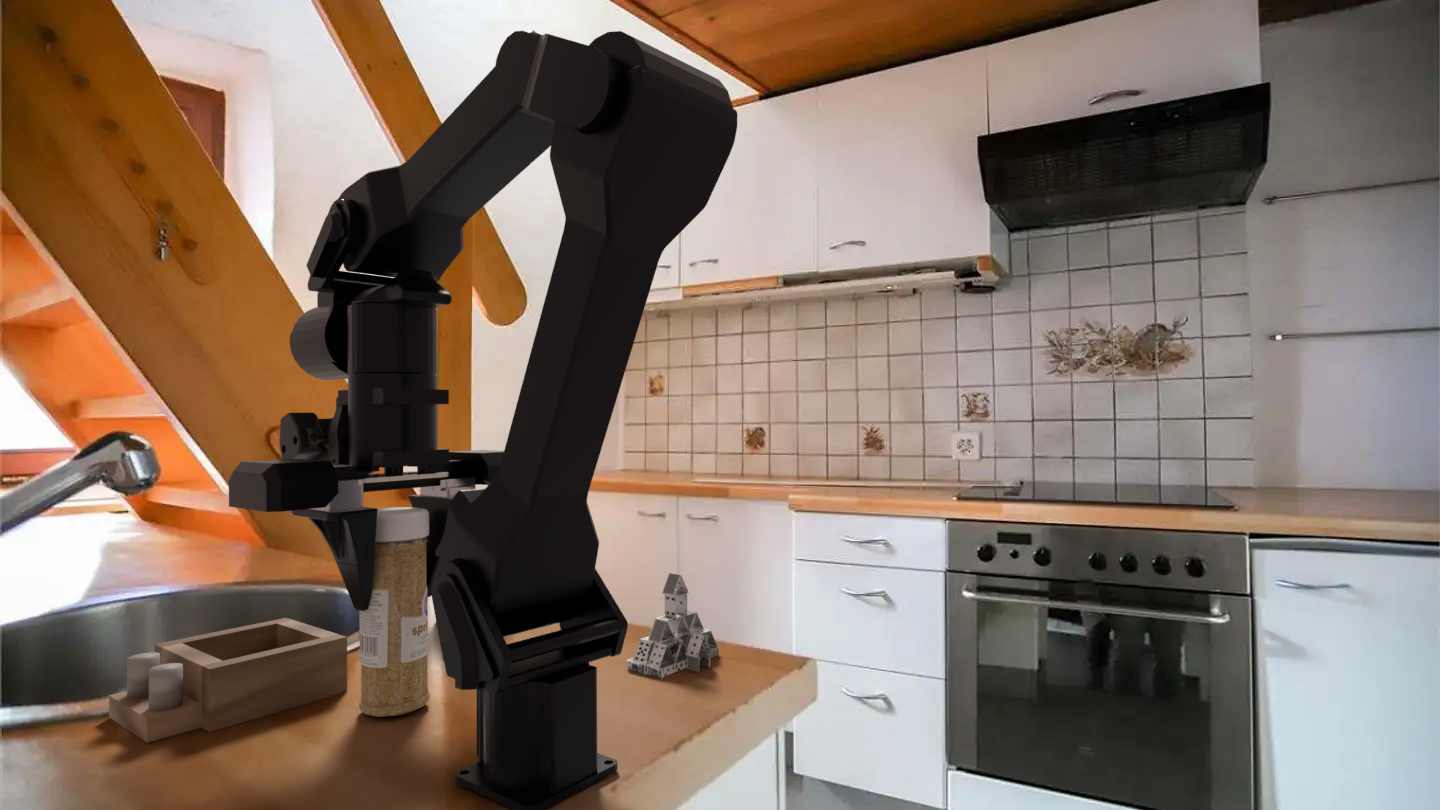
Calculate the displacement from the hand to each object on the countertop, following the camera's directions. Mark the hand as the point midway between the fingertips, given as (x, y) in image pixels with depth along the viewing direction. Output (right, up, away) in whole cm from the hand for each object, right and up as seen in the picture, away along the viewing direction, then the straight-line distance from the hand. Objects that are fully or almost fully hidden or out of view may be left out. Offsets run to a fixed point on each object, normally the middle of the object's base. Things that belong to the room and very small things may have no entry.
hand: (394, 602), depth 54 cm
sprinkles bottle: (0, -7, 0) cm, 7 cm away
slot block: (-12, -7, +2) cm, 15 cm away
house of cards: (+20, -8, +7) cm, 23 cm away
